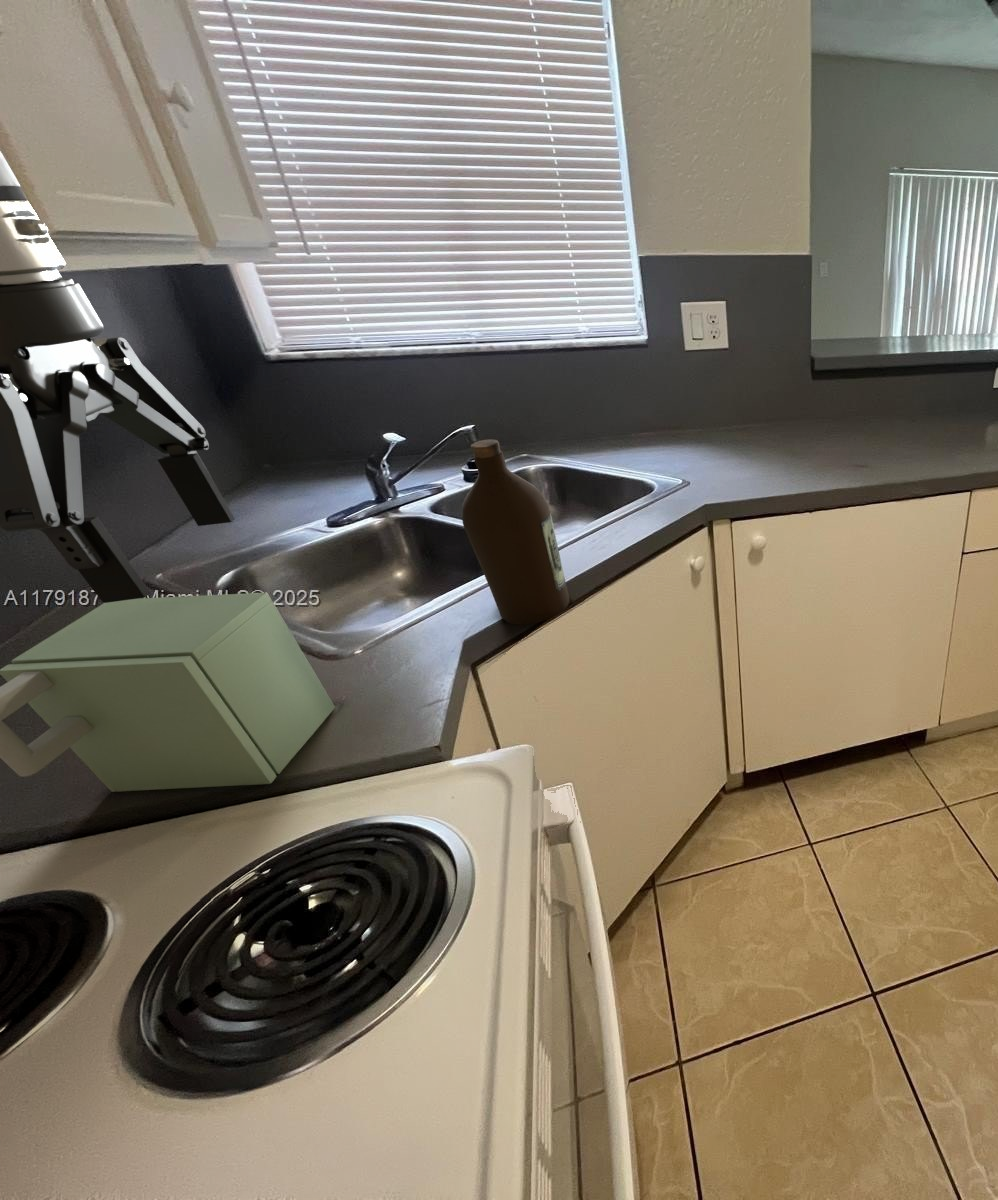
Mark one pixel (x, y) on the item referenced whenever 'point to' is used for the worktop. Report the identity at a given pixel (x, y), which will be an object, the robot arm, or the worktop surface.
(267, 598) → the cupboard
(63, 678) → the cupboard door
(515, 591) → the olive oil
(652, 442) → the worktop surface
